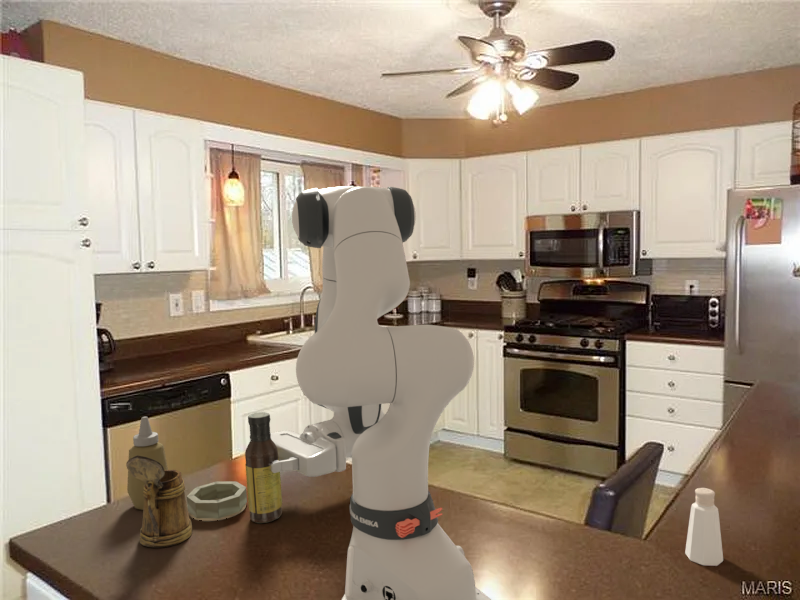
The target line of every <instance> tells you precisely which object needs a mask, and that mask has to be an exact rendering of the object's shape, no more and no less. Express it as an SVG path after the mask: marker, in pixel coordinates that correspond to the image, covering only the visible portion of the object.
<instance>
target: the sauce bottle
mask: <svg viewBox="0 0 800 600" xmlns="http://www.w3.org/2000/svg"><path fill="white" fill-rule="evenodd" d="M247 420H248V425H249V442H248V444H247V447H246V449H245V450H244V451H245V453H244V457H245V476H246V492H247V502H248V503H247V504H248V510H249V519H250V521H251V522H254V523H255V524H266V523H271V522H273V521H275V520H277V519H279V518H280V517H281V516H282V513H283V512H282V511H283V509H282V506H283V499H282V498H283V496H282V482H281V478H282V477H281V472H277V473H273V472H271V471H270V470H269V463H270V462H272V461H275V460H278V461H279V455H278V449H277V446H276V445H275V443H274V442H273V441H272V439H271V434H270V433H271V426H270V423H271V415H270V413H269V412H262V411H261V412H254V413H251V414H249V415H248V416H247Z"/></svg>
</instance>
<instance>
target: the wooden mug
mask: <svg viewBox="0 0 800 600" xmlns="http://www.w3.org/2000/svg"><path fill="white" fill-rule="evenodd" d="M125 466H126V469H127V472H128V471H129V473H130V474H131V475H132V476H133V477H135V478H137V479H139V480H141V481H143V482H144V483H145V485H144V489H143V496H144V508H143V510H142V524H141V528H140V529H139V530H140V531H139V544H140V545H142V546H144V547H147V548H153V549H155V548H157V549H158V548H159V549H161V548H168V547H171V546H176V545H179V544H181V543H183V542H185V541H186V540H188V539H189V538H190V537H191V536H192V534H193V525H192V520H191V518H190V515H189V512H188V508H187V497H186V493H185V491H186V485H185V480H184V478H183V476H182V472H181V471H179V470H176V469H168V470H164V468H163V466H162V465H161V464H160V463H159V462H157V461H155V460H153V459H151V458H147V457H143V456H138V455H137V456H135V457H133V458H131V459H129V458H128V460H127V461H126V465H125Z"/></svg>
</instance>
